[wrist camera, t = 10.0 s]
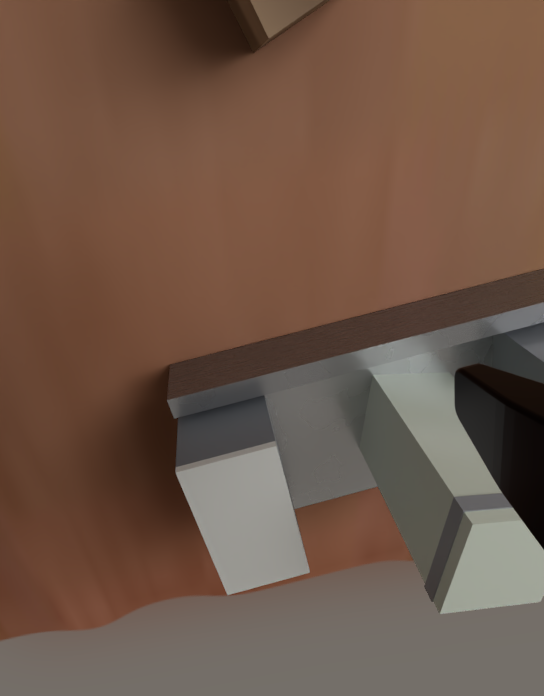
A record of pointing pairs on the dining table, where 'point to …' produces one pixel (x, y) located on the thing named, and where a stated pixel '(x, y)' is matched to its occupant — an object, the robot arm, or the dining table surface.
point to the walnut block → (270, 17)
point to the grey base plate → (351, 375)
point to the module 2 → (521, 352)
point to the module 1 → (240, 494)
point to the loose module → (446, 498)
